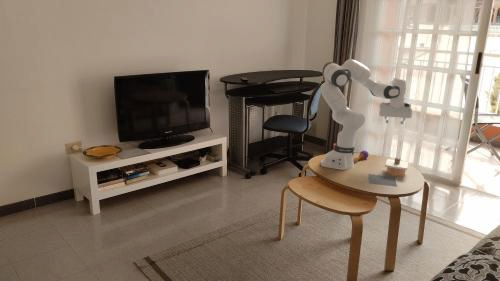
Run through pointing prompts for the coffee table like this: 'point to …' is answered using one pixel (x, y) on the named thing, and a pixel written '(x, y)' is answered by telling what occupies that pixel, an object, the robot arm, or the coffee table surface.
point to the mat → (382, 180)
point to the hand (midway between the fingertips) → (394, 123)
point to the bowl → (395, 171)
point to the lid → (396, 164)
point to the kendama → (361, 156)
